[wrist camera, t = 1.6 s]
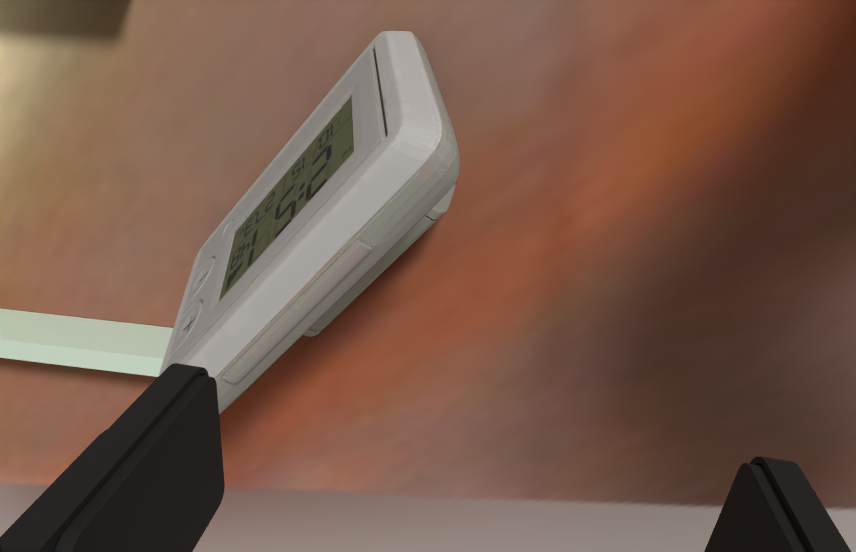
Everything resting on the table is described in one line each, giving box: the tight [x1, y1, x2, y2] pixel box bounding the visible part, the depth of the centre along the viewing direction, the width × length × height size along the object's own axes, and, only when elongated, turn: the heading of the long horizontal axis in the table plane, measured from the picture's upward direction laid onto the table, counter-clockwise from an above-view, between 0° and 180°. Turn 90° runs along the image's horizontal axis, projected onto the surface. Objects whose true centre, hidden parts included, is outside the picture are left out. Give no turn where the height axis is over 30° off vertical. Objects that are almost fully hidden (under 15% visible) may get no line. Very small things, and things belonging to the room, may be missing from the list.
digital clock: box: [158, 31, 460, 415], centre depth 24 cm, size 16×9×11 cm, turn 125°
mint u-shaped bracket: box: [0, 309, 173, 377], centre depth 29 cm, size 14×20×3 cm
